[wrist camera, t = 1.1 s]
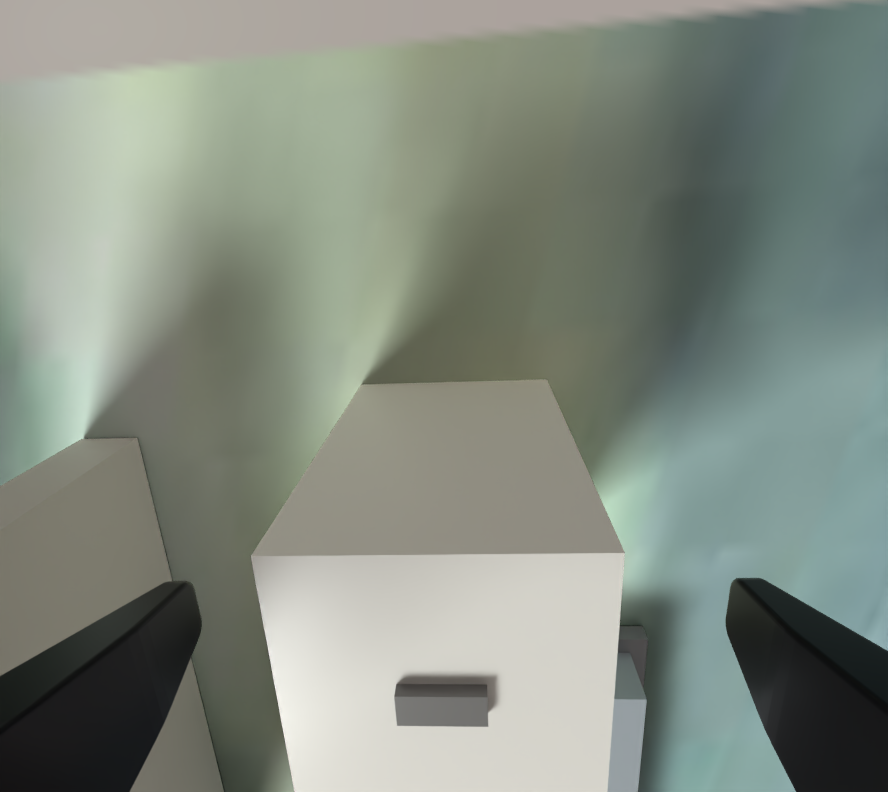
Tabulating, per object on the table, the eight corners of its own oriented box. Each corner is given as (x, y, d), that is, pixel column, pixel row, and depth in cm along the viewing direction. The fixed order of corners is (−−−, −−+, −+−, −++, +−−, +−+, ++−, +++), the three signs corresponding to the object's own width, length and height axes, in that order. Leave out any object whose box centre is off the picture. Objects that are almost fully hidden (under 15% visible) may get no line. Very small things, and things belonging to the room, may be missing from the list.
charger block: (546, 379, 13) (629, 562, 6) (544, 540, 14) (608, 834, 8) (361, 384, 13) (243, 565, 6) (376, 542, 15) (294, 828, 8)
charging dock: (642, 625, 15) (667, 685, 13) (620, 866, 18) (638, 942, 16) (290, 626, 16) (265, 683, 14) (329, 858, 19) (313, 930, 17)
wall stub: (137, 437, 14) (-166, 641, 7) (235, 836, 19) (105, 1177, 12) (81, 438, 14) (-268, 641, 7) (193, 835, 19) (41, 1173, 12)
